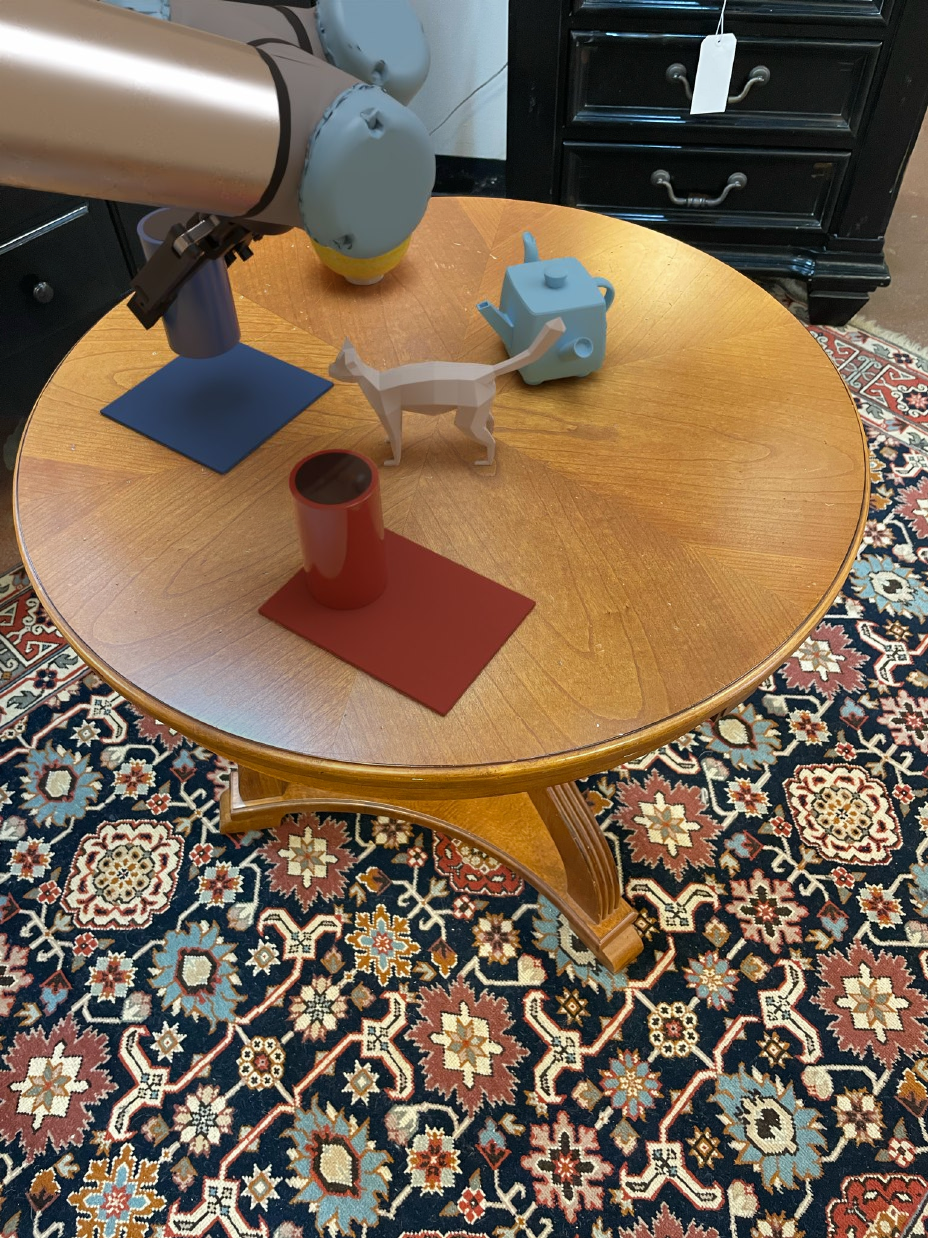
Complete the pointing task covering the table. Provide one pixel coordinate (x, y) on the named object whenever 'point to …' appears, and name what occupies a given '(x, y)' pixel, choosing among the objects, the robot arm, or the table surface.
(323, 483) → the red tumbler
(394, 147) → the robot arm
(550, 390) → the table surface
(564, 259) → the teapot
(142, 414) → the blue mat
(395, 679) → the red mat
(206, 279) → the blue tumbler
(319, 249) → the bowl
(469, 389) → the cat figurine
